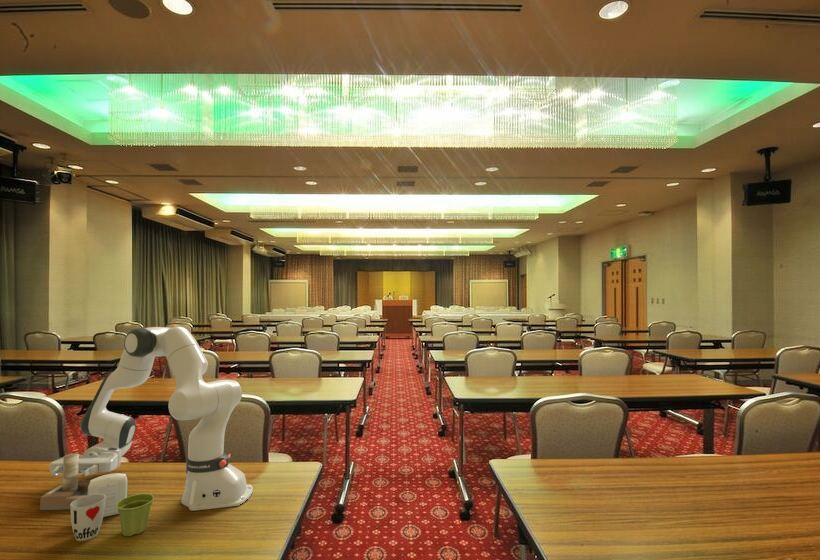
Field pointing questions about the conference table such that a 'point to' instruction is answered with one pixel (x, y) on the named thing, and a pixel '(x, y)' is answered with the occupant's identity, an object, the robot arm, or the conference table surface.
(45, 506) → the keyhole dock
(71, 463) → the beige tall cylinder
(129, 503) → the plant pot
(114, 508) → the photo printer
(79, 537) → the cup
